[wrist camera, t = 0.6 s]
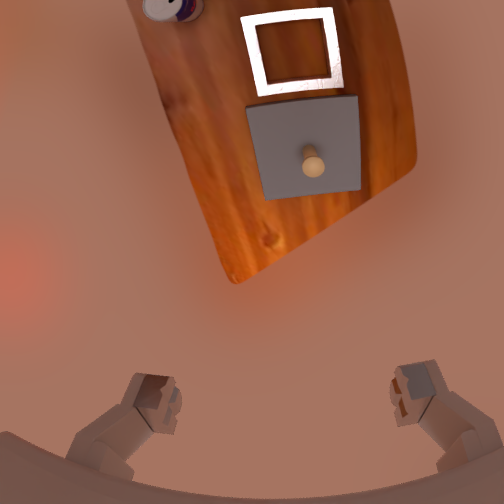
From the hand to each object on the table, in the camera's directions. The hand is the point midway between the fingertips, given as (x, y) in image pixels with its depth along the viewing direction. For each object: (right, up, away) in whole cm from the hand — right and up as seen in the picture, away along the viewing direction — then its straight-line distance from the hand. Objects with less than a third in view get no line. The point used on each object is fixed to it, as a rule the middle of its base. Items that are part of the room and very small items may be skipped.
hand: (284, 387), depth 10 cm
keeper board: (+8, +23, +39) cm, 46 cm away
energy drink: (-11, +42, +23) cm, 49 cm away
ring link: (+5, +35, +28) cm, 45 cm away
